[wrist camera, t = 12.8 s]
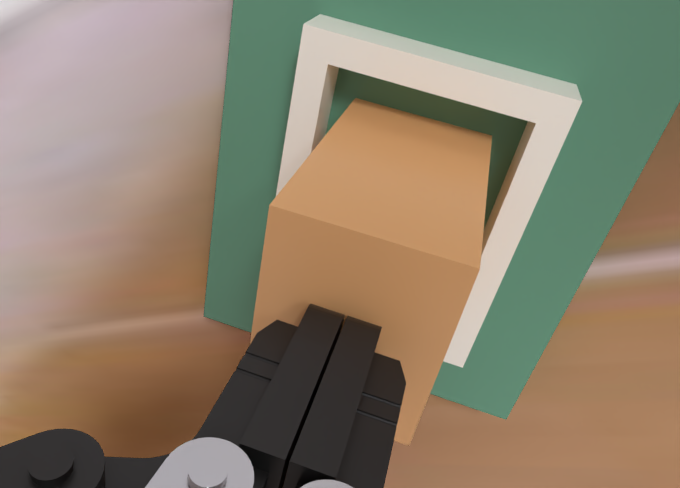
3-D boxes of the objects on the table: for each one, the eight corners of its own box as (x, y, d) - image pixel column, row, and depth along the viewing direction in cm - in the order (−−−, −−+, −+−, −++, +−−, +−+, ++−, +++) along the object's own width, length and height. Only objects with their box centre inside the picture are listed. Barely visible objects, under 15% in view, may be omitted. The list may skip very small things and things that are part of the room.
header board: (722, -22, 14) (767, -5, 12) (506, 390, 22) (505, 452, 20) (268, -135, 16) (220, -142, 13) (220, 294, 24) (185, 340, 21)
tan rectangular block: (492, 135, 16) (480, 268, 10) (434, 296, 19) (400, 467, 13) (355, 98, 17) (269, 205, 11) (320, 260, 20) (240, 411, 14)
